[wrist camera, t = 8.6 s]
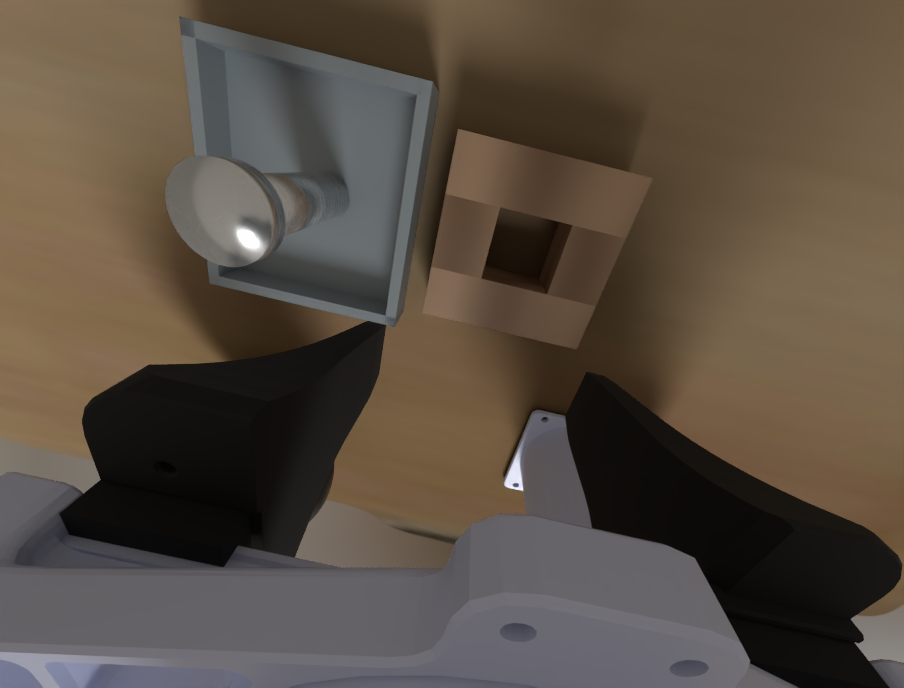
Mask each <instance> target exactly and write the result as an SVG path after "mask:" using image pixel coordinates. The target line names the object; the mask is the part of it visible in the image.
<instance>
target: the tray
mask: <svg viewBox="0 0 904 688" xmlns="http://www.w3.org/2000/svg"><path fill="white" fill-rule="evenodd" d="M179 18H180V26H181V35H182V44H183V53H184V62H185V71H186V79H187V88H188V97H189V106H190V115H191V124H192V133H193V141H194V150H195V156H198V155H200V156H224V157H232V158H236V159H239V160H242V161H244V162H246V163H248V164H250V165H251V166H253V167H255V168H256V169H257V170H258V171H260V172H261V173H281V172H330V173H333V174H335V175H337V176H338V177H339V178H341V179H342V180H343V182H344V183H345V185H346V186H347V189H348V191H349V197H350V202H349V206H348V209H347V211H346V212H345V213H344V214H343V215H342V216H340V217H338V218H335V219H332V220H329V221H326V222H323V223H320V224H318V225H315V226H312V227H309V228H306V229H303V230H300V231H297V232H294V233H291V234H288V235H285V236H284V237H283V240H282V242H281V244H280V246H279V247H278V248H277V250H276V251H275V252H274V253H272V254H271V255H269V256H268V257H266V258H263V259H261V260H258V261H256V262H253V263H251V264H249V265H246V266H242V267H226V266H221V265H218V264H215V263H213V262H210V261H209V260H207V265H208V274H209V283H210V284H213V285H217V286H221V287H226V288H230V289H234V290H238V291H243V292H247V293H251V294H255V295H260V296H264V297H268V298H273V299H277V300H281V301H285V302H290V303H294V304H298V305H302V306H307V307H311V308H315V309H319V310H324V311H328V312H332V313H336V314H341V315H345V316H349V317H354V318H358V319H362V320H366V321H371V322H376V323H380V324H384V325H388V326H392V327H395V325H396V323H397V321H398V319H399V318H400V316H401V314H402V312H403V308H404V302H405V296H406V290H407V284H408V278H409V272H410V266H411V260H412V254H413V248H414V242H415V236H416V230H417V224H418V218H419V212H420V206H421V200H422V194H423V188H424V182H425V176H426V170H427V164H428V158H429V152H430V146H431V140H432V134H433V128H434V122H435V116H436V110H437V104H438V98H439V91H438V90H437V88H436V86H435V84H434V83H433V81H429V80H425V79H421V78H417V77H413V76H409V75H405V74H401V73H398V72H394V71H390V70H386V69H382V68H378V67H374V66H370V65H366V64H363V63H359V62H355V61H351V60H347V59H343V58H339V57H335V56H331V55H327V54H324V53H320V52H316V51H312V50H308V49H304V48H300V47H296V46H292V45H289V44H285V43H281V42H277V41H273V40H269V39H265V38H261V37H257V36H254V35H250V34H246V33H242V32H238V31H234V30H230V29H226V28H222V27H218V26H215V25H211V24H207V23H203V22H199V21H195V20H191V19H187V18H183V17H180V16H179Z"/></svg>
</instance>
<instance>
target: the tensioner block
mask: <svg viewBox="0 0 904 688" xmlns="http://www.w3.org/2000/svg"><path fill="white" fill-rule="evenodd" d="M652 180H653V178H650V177H646V176H643V175H639V174H635V173H631V172H627V171H623V170H619V169H615V168H611V167H607V166H603V165H599V164H595V163H591V162H587V161H583V160H579V159H575V158H571V157H568V156H564V155H560V154H556V153H552V152H548V151H544V150H540V149H536V148H532V147H528V146H524V145H520V144H516V143H512V142H508V141H504V140H500V139H496V138H493V137H489V136H485V135H481V134H477V133H473V132H469V131H465V130H461V129H458V132H457V137H456V142H455V147H454V152H453V157H452V163H451V168H450V173H449V178H448V183H447V188H446V193H445V198H444V204H443V209H442V214H441V219H440V224H439V229H438V234H437V239H436V245H435V250H434V255H433V260H432V265H431V270H430V275H429V281H428V286H427V291H426V296H425V301H424V306H423V311H422V313H423V314H428V315H432V316H436V317H440V318H445V319H449V320H453V321H457V322H462V323H466V324H470V325H474V326H478V327H483V328H487V329H491V330H495V331H500V332H504V333H508V334H512V335H517V336H521V337H525V338H529V339H533V340H538V341H542V342H546V343H550V344H555V345H559V346H563V347H567V348H572V349H576V350H577V348H578V346H579V343H580V341H581V339H582V337H583V334H584V332H585V330H586V328H587V326H588V323H589V321H590V319H591V317H592V314H593V312H594V310H595V308H596V305H597V303H598V301H599V299H600V296H601V294H602V292H603V290H604V287H605V285H606V283H607V281H608V279H609V276H610V274H611V272H612V270H613V267H614V265H615V263H616V261H617V258H618V256H619V254H620V252H621V249H622V247H623V245H624V243H625V240H626V238H627V236H628V234H629V232H630V229H631V227H632V225H633V223H634V220H635V218H636V216H637V214H638V211H639V209H640V207H641V205H642V202H643V200H644V198H645V196H646V193H647V191H648V189H649V187H650V184H651V182H652ZM500 207H501V208H505V209H509V210H513V211H517V212H521V213H525V214H529V215H533V216H537V217H541V218H545V219H549V220H553V221H557V222H558V225H557V228H556V231H555V234H554V237H553V240H552V242H551V245H550V248H549V251H548V254H547V257H546V260H545V262H544V265H543V268H542V271H541V274H540V277H539V278H535V277H531V276H526V275H522V274H518V273H514V272H510V271H506V270H502V269H497V268H493V267H489V266H485V263H486V259H487V255H488V251H489V248H490V244H491V240H492V236H493V233H494V229H495V225H496V222H497V218H498V214H499V210H500Z"/></svg>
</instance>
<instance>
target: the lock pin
mask: <svg viewBox="0 0 904 688" xmlns="http://www.w3.org/2000/svg"><path fill="white" fill-rule="evenodd" d="M165 200H166V206H167V210H168V213H169V216H170V219H171V221H172V223H173V225H174V227H175V229H176V231H177V232H178V233H179V235H180V236H181V238H182V239H183V240H184V241H185V242H186V244H187V245H188V246H189V247H190V248H191V249H193V250H194V251H195V252H196V253H197V254H199V255H200V256H202V257H203V258H205V259H207V260H209V261H210V262H213V263H215V264H218V265H221V266H226V267H242V266H246V265H249V264H251V263H253V262H256V261H258V260H261V259H263V258H266V257H268V256H269V255H271V254H272V253H274V252H275V251H276V250H277V248H278V247H279V246H280V244H281V242H282V240H283V237H284V236H285V235H288V234H291V233H294V232H297V231H300V230H303V229H306V228H309V227H312V226H315V225H318V224H320V223H323V222H326V221H329V220H332V219H335V218H338V217H340V216H342V215H343V214H344V213H345V212H346V211H347V209H348V206H349V202H350V197H349V191H348V189H347V186H346V185H345V183H344V182H343V180H342V179H341V178H339V177H338V176H337V175H335V174H333V173H330V172H281V173H261V172H260V171H258V170H257V169H256V168H255V167H253V166H251V165H250V164H248V163H246V162H244V161H242V160H239V159H236V158H232V157H224V156H200V155H198V156H192V157H188V158H186V159H184V160H182V161H180V162H179V163H178V164H177V165H175V167H174V168H173V169H172V170H171V172H170V174H169V176H168V179H167V182H166V187H165Z"/></svg>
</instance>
